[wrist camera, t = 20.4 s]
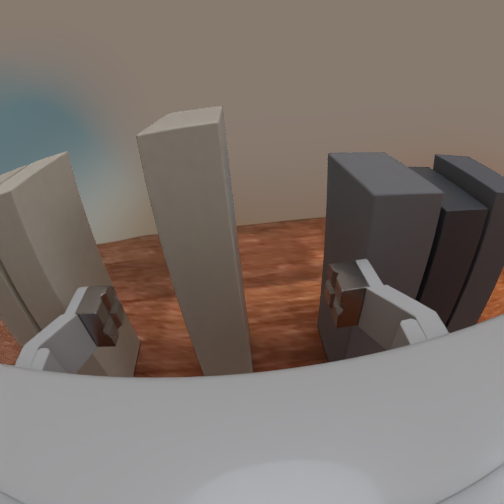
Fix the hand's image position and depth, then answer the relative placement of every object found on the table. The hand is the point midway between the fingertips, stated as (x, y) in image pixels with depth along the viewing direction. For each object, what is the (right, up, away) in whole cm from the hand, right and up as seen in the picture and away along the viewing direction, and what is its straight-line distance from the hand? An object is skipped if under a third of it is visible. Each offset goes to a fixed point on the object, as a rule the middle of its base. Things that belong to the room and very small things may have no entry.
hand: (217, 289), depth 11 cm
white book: (0, -5, +7) cm, 9 cm away
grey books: (+11, -5, +7) cm, 14 cm away
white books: (-6, -7, +7) cm, 11 cm away
